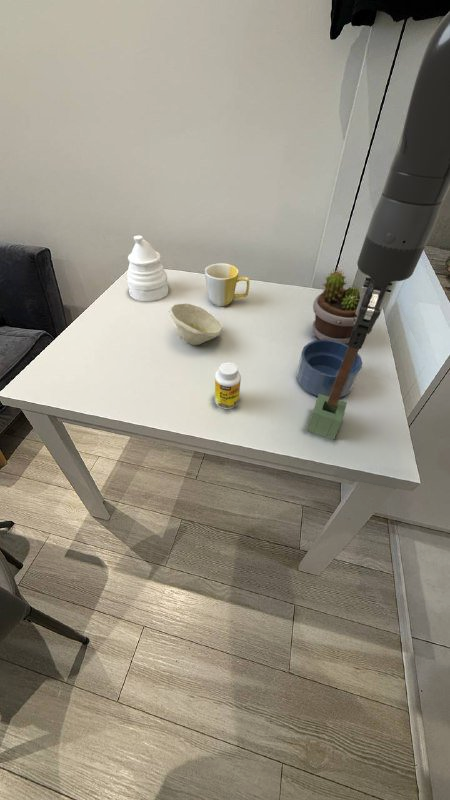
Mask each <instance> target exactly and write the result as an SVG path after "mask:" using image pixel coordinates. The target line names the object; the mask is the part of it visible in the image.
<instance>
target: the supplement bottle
mask: <svg viewBox="0 0 450 800" xmlns="http://www.w3.org/2000/svg"><path fill="white" fill-rule="evenodd" d="M241 381H242V375H241V373H240V371H239V367H238V365H237V364H235V363H234V362H232V361H231V362H230V361H227V362H223V363H221V364H220V365H219V366H218V370H217V371H216V372H215V375H214V402H215V404H216V405H217V406H218V407H219V408H221V409H224V410H228V409H229V410H230V409H233V408H235V407H236V406H237V405H238V404H239V402H240V393H241V391H240V390H241Z"/></svg>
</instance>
